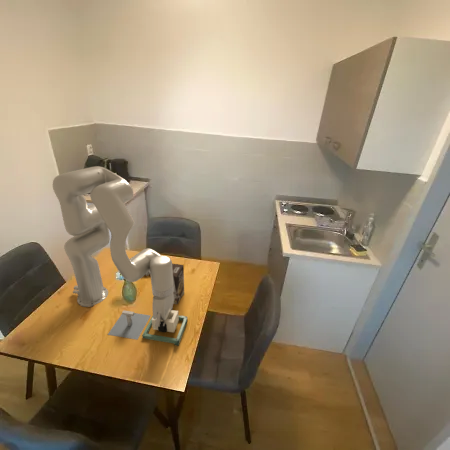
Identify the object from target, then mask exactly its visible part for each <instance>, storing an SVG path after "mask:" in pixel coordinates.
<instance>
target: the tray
mask: <svg viewBox="0 0 450 450" xmlns="http://www.w3.org/2000/svg"><path fill="white" fill-rule="evenodd" d="M178 315H179V314H178ZM152 318H153V315H151V317H150V320H149V322H147V323H148V324H146V326H145V328H144V329H145V330H143V333H142V334H141V338H142V339H145V340H151V341H152V340H153V341H158V342H164V343H168V344H169V343H170V344H173V346H177V347H179V345H180V342H181V340H182V337H183V334H184V332H185V329H186V326H187V324H188V316H185V315H179V321H182V323H181V324H180V329H179V330H178V334H177V335H176V337H169V336H163V335H157V334H152V333H149V332H150V330H151V328H152Z"/></svg>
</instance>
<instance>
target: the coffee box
mask: <svg viewBox="0 0 450 450" xmlns="http://www.w3.org/2000/svg"><path fill="white" fill-rule="evenodd" d="M172 269H173V286H174V292H173V295H174V303H173V305H179V303H180V300H181V299H182V297H183V296H184V294H185V274H184V273H185V271H184V264H179V263H172Z"/></svg>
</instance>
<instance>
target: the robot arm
mask: <svg viewBox="0 0 450 450" xmlns="http://www.w3.org/2000/svg"><path fill="white" fill-rule="evenodd" d="M52 189H53V192H54V194H55V197H56V198H57V199H58V202H59V205H60V210H61V214H62V215H61V216H62V220H63V221H62V222H63V225H64V228H65V231H66V232H67V233H68V235H71V236H72V237H70V238H69V239H68V240H66V241H65V243H64V247H63V249H64V252H65V254H66V256H67V257H68V260H69V262H70V265H71V267H72V271H73V274H74V277H75V278H74V279H75V282H76V285H74V287H73V291H72V293H73V294H77V298H76V300H77V301H76V302H77V304H78V305H79V306H81V307H84V308H90V307H95V305H97V304H99V303H101V302H103V301H104V300H105V299H106V298H107V297H108V295H109V290H108V289H107V287H105V286H104V284H103V280H102V279H103V278H102V275H101V269H100V266H99V262H98V259H96V258H94V256H93V257H92V255H94V254H95V253H97V252H98V251H100V250H101V249H102V250H103V249H104V248H105V247H106V246H108V244H109V243H110V244H109V249H110V250H109V251H110V257H111V260H112V262H113V264H114V266H115V267H116V269H117V271H118V273H119V274H120V275H121V276H122V278H123V279H124V280H126V281H127V282H130V283H135V282H138V281H139V280H141V279H142V278H143V277H144V276H146V275H145V274H147V273H148V272H149V271H150V281H151V283H150V284H151V293H152V296H153V297H152V316H153V319H156V318H157V319H156V324H155V326H157V327H158V330H157V331H158V332H160V333H167V325H166V324H165V322H166V319H167V317H168V315H169V313H170V310H173V308H174V307H173V306H174V304H173V303H174V295H173V292H174V286H173V269H172V264H173V261H172V259H171V258H170V256H167V255H162V254H160V253H159V252H157V251H156V250H155V249H152V248H148V247H147V248H144V249H142V250H141V251H139V252H138V253H137V254H135V255H133V256H132V257H131V258H130V257H128V253H127V251H126V243H127V242H126V241H127V238H128V236H129V234H130V233H131V230H132V229H133V227H134V225H135V223H136V222H135V220H134V218H133V216H132V215H131V213H130V211H129V209H128V207H127V205H126V204H125V203H126V202H130V201H131V200H132V199H133V197H134V189H133V188H132V186H131V184H130V183H129V182H128V181H127V180H126V179H125V178H123V177H121V176H120V175H118V174H117V173H115V172H113V171H111V170H110V169H108V168H105V167H103V166H99V165H98V166H97V165H95V166H90V167H86V168H81V169H77V170H72V171H67V172H63V173H61V174H58V175H57V176H55V177H54V178H53V179H52ZM87 194H88V195H89V194H90V195H89V197H90V200H91V202H92V204H89V205H88V203H87V199H86V197H85V195H87ZM110 236H111V237H110ZM161 320H163V322H160V321H161Z"/></svg>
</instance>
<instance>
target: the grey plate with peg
mask: <svg viewBox="0 0 450 450" xmlns="http://www.w3.org/2000/svg"><path fill="white" fill-rule="evenodd" d="M151 317H152V315H150V314H145V313H144V314H143V313H137V312H136V313H135V311H130V310H122V312H121V315H119V318H118V319H117V320H116V322H115V323H114V325H112V327H111V329H110V331H108V333H107V335H108V336H114V337H119V338H126V339H132V340H135V341H137V340H139V337H140V336H141V335H142V334H143V333H142V332H144V329H145V328H146V326H147V323H149V322H148V321H150V320H149V319H151Z"/></svg>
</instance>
